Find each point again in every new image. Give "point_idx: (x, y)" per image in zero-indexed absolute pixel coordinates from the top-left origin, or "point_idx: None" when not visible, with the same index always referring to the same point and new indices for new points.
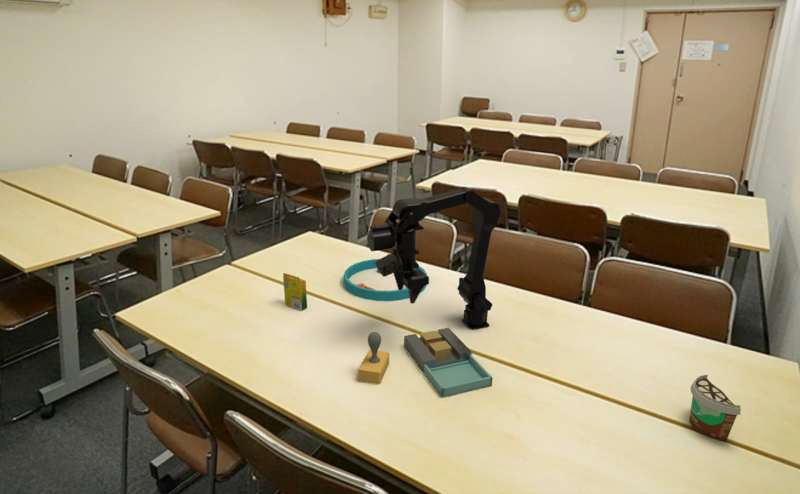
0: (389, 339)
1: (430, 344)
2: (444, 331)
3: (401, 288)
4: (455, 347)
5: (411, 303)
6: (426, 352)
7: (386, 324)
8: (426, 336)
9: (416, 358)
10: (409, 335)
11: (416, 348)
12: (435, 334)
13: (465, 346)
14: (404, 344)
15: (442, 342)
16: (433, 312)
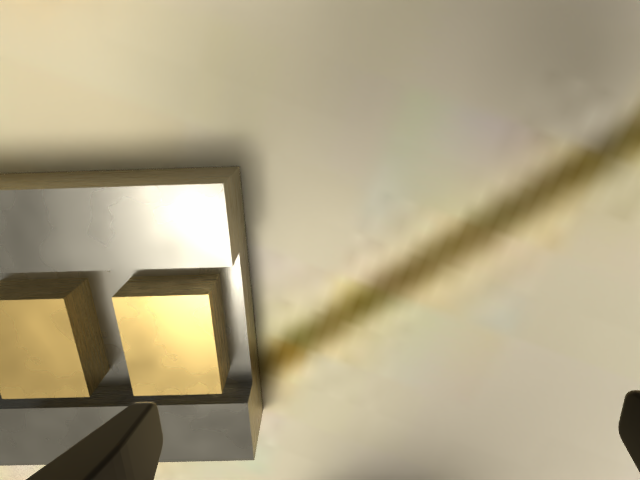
0: (351, 106)
1: (51, 304)
2: (216, 427)
3: (634, 440)
4: (29, 415)
5: (134, 408)
6: None
7: (542, 151)
8: (157, 316)
9: (25, 179)
10: (220, 221)
11: (37, 205)
12: (171, 373)
13: (33, 460)
14: (227, 170)
15: (67, 375)
16: (538, 440)
